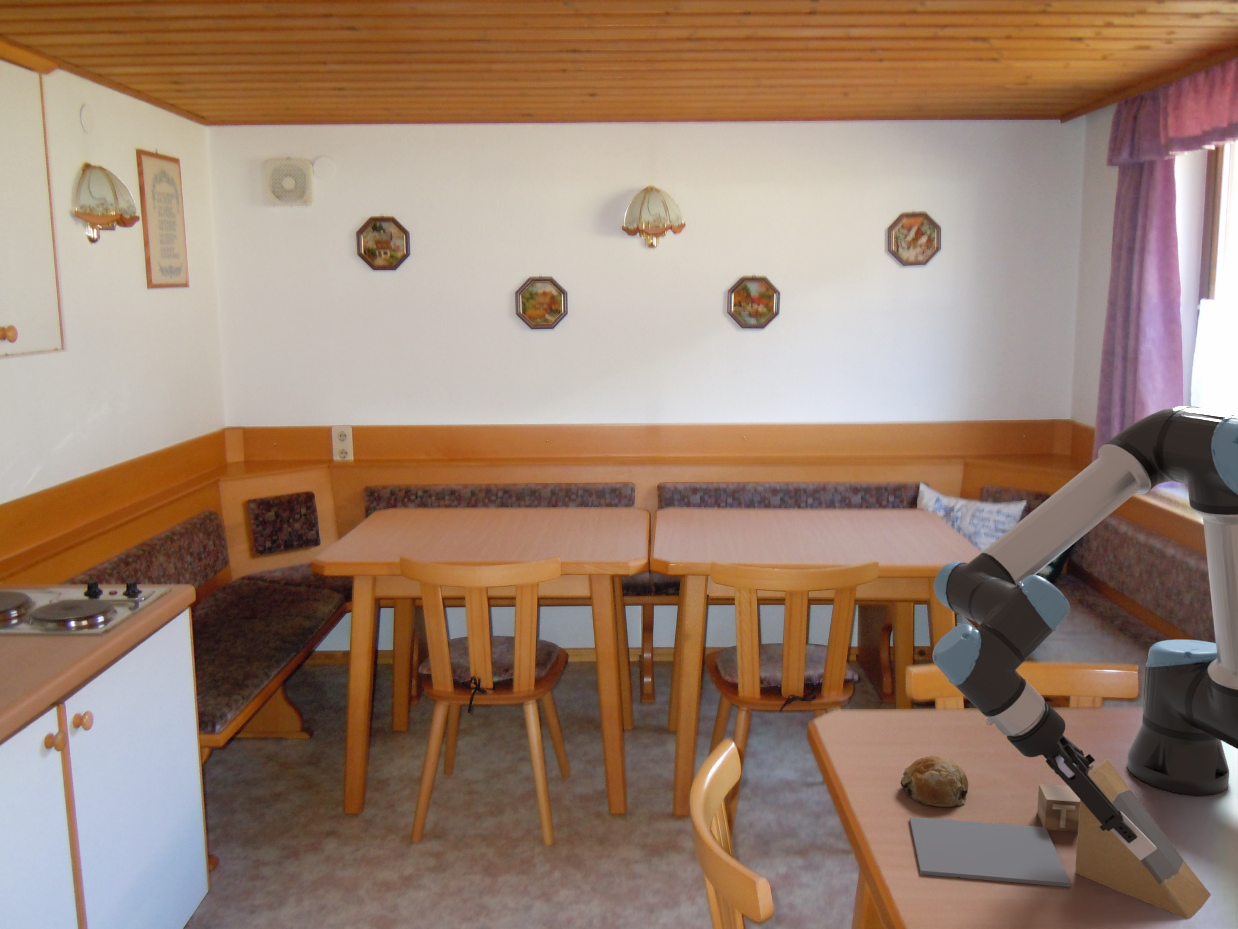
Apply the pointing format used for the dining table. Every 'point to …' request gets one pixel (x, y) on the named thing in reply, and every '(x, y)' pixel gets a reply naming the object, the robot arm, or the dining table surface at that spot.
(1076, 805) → the wooden letter cube
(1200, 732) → the robot arm
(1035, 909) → the dining table surface
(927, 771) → the bread roll
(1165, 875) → the sandwich container
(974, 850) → the grey rubber mat
